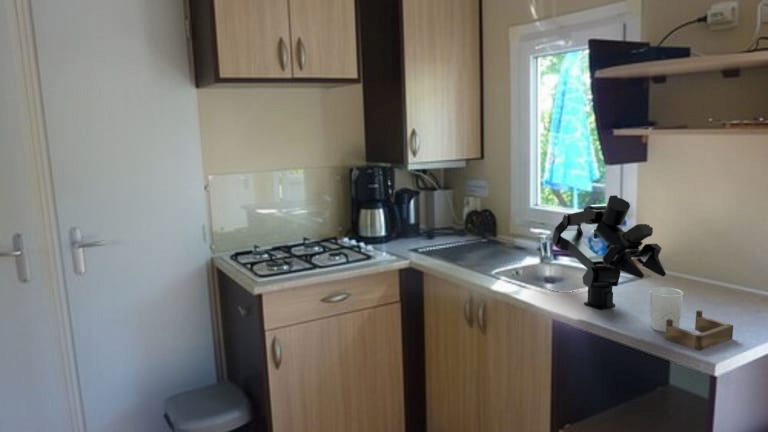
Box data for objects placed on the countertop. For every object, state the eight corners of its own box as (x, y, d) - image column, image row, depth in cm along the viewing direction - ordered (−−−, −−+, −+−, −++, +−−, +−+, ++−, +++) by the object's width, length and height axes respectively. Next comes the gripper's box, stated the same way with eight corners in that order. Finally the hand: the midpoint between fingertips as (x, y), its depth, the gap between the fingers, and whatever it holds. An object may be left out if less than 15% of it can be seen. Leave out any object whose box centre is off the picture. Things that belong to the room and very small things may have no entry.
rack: (665, 339, 148) (666, 320, 147) (697, 328, 155) (699, 309, 154) (699, 350, 140) (700, 330, 140) (732, 338, 147) (733, 319, 146)
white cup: (641, 326, 157) (643, 290, 155) (660, 320, 161) (661, 285, 159) (668, 335, 150) (670, 297, 149) (687, 329, 154) (689, 292, 153)
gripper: (608, 214, 156) (649, 254, 146) (652, 215, 166) (693, 252, 155) (586, 246, 162) (624, 286, 152) (630, 244, 172) (668, 282, 161)
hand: (653, 276), depth 155 cm, fingers open, 9 cm apart
